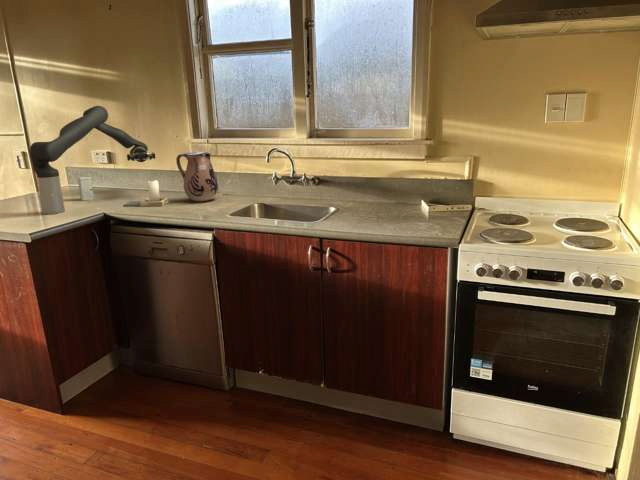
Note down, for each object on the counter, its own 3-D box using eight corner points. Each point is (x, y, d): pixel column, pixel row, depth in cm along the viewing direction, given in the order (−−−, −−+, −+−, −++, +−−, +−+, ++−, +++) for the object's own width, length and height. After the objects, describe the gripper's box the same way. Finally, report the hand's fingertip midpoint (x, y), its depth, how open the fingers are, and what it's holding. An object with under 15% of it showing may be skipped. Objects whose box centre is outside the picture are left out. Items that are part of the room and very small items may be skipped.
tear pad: (140, 206, 239) (140, 204, 239) (123, 206, 239) (123, 204, 239) (148, 202, 248) (147, 201, 248) (131, 202, 249) (130, 201, 248)
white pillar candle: (158, 205, 241) (155, 181, 238) (148, 205, 241) (145, 181, 238) (161, 203, 246) (159, 179, 243) (151, 203, 246) (149, 179, 243)
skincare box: (83, 200, 256) (79, 178, 253) (80, 199, 259) (76, 177, 256) (94, 199, 260) (91, 177, 257) (92, 198, 263) (88, 176, 260)
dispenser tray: (162, 206, 238) (161, 201, 237) (140, 206, 238) (140, 202, 238) (169, 202, 249) (168, 198, 248) (148, 202, 249) (148, 198, 248)
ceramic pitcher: (214, 203, 244) (210, 154, 237) (174, 203, 245) (169, 154, 238) (222, 197, 261) (218, 151, 254) (184, 197, 261) (179, 151, 255)
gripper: (125, 148, 259) (126, 152, 245) (152, 146, 264) (155, 150, 250) (127, 162, 262) (128, 166, 247) (154, 160, 267) (156, 164, 253)
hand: (141, 158), depth 249 cm, fingers open, 8 cm apart
